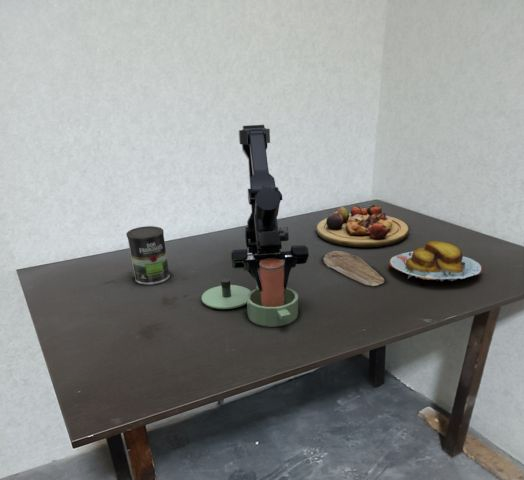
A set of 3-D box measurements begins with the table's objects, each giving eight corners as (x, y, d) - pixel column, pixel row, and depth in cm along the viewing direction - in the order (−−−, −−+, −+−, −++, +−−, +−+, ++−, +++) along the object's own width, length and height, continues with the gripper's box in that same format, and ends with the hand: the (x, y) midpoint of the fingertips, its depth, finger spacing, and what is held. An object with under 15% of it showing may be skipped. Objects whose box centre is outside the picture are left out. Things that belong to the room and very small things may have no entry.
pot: (261, 336, 113) (260, 317, 111) (238, 303, 128) (237, 286, 125) (310, 325, 117) (310, 307, 114) (283, 295, 131) (282, 278, 128)
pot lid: (208, 315, 123) (206, 295, 120) (196, 293, 134) (194, 274, 131) (259, 305, 127) (258, 285, 124) (243, 285, 137) (242, 266, 134)
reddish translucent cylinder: (256, 310, 122) (254, 262, 115) (275, 303, 125) (274, 256, 118) (270, 319, 118) (268, 269, 111) (289, 311, 121) (289, 263, 114)
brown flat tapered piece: (396, 279, 137) (397, 275, 136) (369, 290, 133) (369, 287, 133) (339, 250, 156) (339, 247, 155) (314, 260, 152) (313, 256, 151)
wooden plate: (418, 247, 157) (422, 222, 152) (320, 250, 158) (321, 225, 153) (396, 217, 184) (399, 195, 179) (313, 220, 185) (313, 198, 180)
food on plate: (372, 274, 141) (374, 252, 137) (414, 249, 156) (416, 229, 152) (457, 298, 126) (462, 274, 122) (494, 268, 141) (499, 247, 137)
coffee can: (174, 280, 142) (168, 233, 135) (140, 287, 138) (131, 240, 131) (164, 268, 150) (157, 223, 142) (131, 275, 146) (122, 229, 138)
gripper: (228, 217, 112) (233, 280, 109) (308, 212, 113) (315, 275, 110) (229, 238, 123) (234, 296, 120) (302, 233, 124) (309, 291, 121)
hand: (272, 289), depth 117 cm, fingers closed on reddish translucent cylinder, 6 cm apart
